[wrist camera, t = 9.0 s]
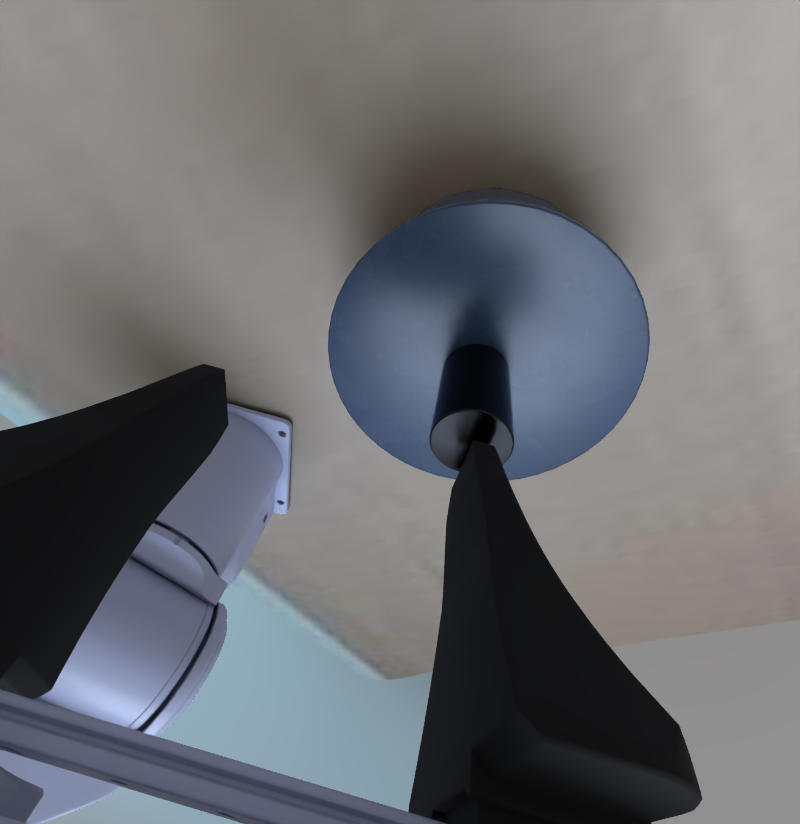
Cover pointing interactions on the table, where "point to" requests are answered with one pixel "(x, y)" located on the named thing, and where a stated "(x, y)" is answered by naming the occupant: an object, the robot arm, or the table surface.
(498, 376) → the lid
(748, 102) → the table surface
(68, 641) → the robot arm
